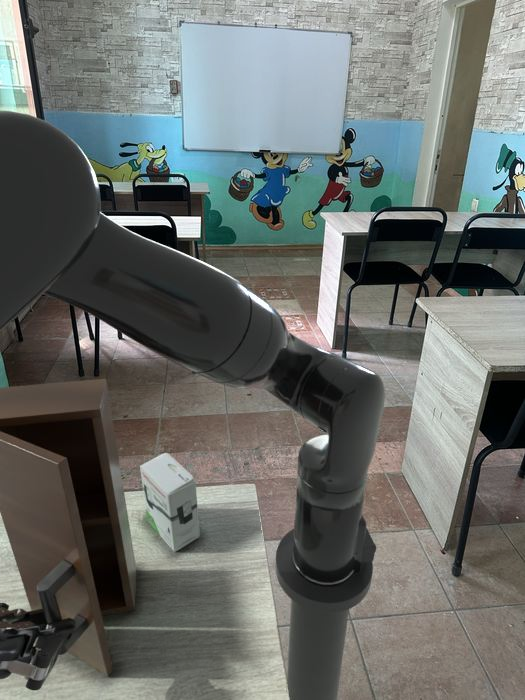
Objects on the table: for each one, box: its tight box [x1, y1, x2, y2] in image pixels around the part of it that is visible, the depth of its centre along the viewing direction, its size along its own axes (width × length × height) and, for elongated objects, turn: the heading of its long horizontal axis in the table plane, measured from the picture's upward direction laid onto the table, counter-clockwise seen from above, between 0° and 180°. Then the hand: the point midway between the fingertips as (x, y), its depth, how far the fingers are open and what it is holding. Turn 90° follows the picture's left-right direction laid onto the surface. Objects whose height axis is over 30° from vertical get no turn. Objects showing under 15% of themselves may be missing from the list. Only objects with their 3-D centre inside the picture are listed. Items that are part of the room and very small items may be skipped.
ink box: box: [139, 452, 200, 553], centre depth 74 cm, size 9×5×12 cm, turn 42°
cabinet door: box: [0, 431, 114, 678], centre depth 50 cm, size 5×12×32 cm, turn 63°
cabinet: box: [0, 378, 137, 616], centre depth 59 cm, size 6×12×32 cm, turn 101°
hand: (59, 624), depth 50 cm, fingers closed
